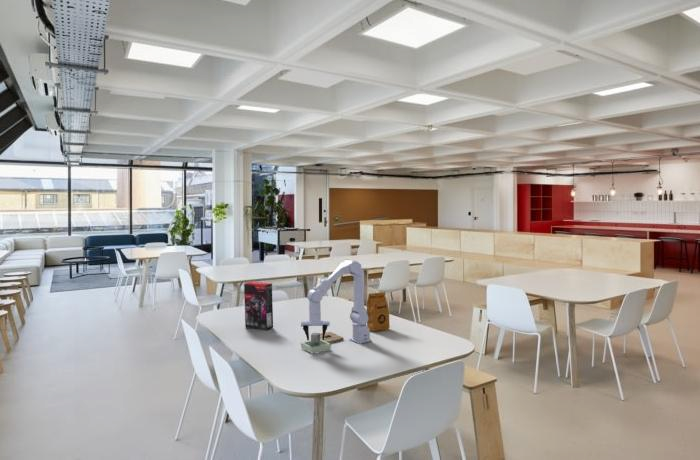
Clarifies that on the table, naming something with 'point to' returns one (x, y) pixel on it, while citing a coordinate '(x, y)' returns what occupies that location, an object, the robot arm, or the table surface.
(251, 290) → the graphics card box
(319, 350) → the tray
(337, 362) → the table surface
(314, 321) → the robot arm
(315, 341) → the pin
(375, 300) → the coffee package
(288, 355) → the table surface
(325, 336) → the tan flat square frame
